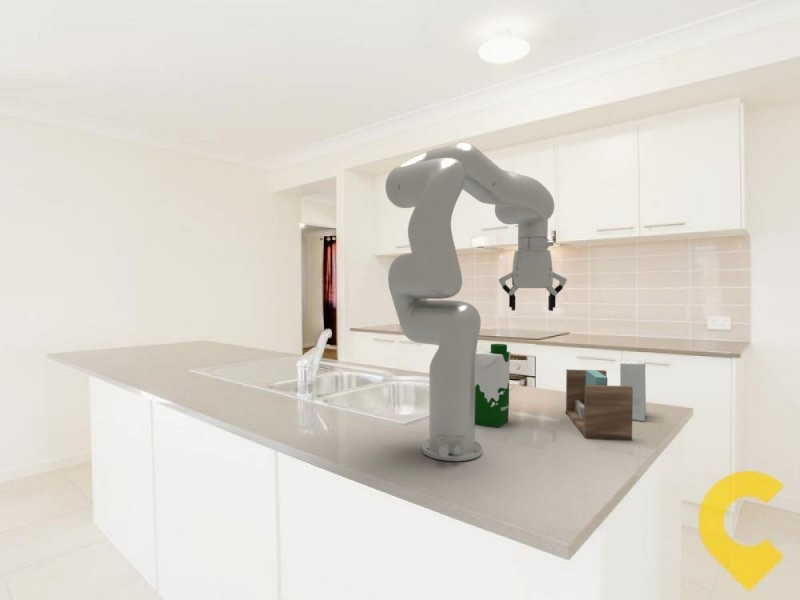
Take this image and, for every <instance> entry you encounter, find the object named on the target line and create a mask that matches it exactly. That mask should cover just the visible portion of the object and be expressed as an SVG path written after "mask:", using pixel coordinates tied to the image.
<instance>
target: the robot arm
mask: <svg viewBox="0 0 800 600" xmlns="http://www.w3.org/2000/svg"><path fill="white" fill-rule="evenodd" d="M462 191H465V192H466V193H467V194H469V195H470V196H471V197H473V198H474V199H475V200H476V201H478V202H480V203H483V204H487V205H493V206H494V205H495V206H494V213H495V216H496V219H498V220H499V222H501V223H502V224H504V225H517V250H515V251H514V254H513V260H512V270H511V272H510V273H508V274H506V275H504V276H501V277H500V278H499V279H498V282H499V285H501V288H502V289H503V290H504V292H506V293H507V295H508V307H509V308H511V311H516V295H515V293H516V292H517V291H518V289H545V290H547V292H548V293H549V295H548V303H547V305H548V306H547V308H548V311H550V312H553V311H554V308H556V299H557V297H556V296H557V295H558V294H559V293H560V292H561V291H562V290H563V288H564V287H565V285H566V283H567V281H568V279H567V278H566V277H563V276H562V275H560V274H558V273H556V272H554V271H553V260H552V255H551V250H549V247H554V241H553V240H549V238H548V236H549V234H548V233H549V232H548V229H549V223H548V222H549V221H548V220H549V219H550V218H551V217H552V215H553V214H554V212H555V211H554V210H555V201H554V198H553V195H552V193H551V192H550V191H549V190H548V188H547V187H546V186H545V185H543V184H542V183H541V182H540V180H539V181H538V180H537V179H535V178H533V177H530V176H527V175H524V174H520V173H516V172H514V171H509V170H504V169H501V168H500V167H499V166H498V165H497V164H495V163H494V162H493V161H492V160H491V159H490V158H489V157H488V156H487V155H485V154H484V153H483V152H482V151H481V150H480V149H478V148H477V147H476V146H475V145H473V144H471V143H468V142H459V143H454V144H448V145H445V146H441V147H436V148H433V149H430V150H429V149H428V150H427V151H425V152H423V153H421V154H418V155H417V156H415V157H413V158H411V159H409V160H407V161H406V162H404V163H402V164H400V165H397V166H396V167H395V168H393V169H392V170H390V172H389V173H388V176H387V178H386V181H385V193H386V197H387V198H388V200H389V202H390V203H392V204H393V205H394V206H395V207H397V208H400V209H401V208H402V209H409V208H414V209H413V211H412V214H411V215H410V218H409V222H408V227H407V237H408V242H409V246H410V250H411V253H410V252H408V253H404V254H401V255H399V256H397V257H395V258H394V259H393V261H392V262H391V264H390V266H389V269H388V276H387V279H388V280H387V281H388V288H389V292H390V295H391V300H392V302H393V305H394V308H395V311H396V316H397V318H398V322H399V325H400V328H401V330H402V332H403V334H404V335H405V337H406V338H407V339H408V340H409V341H411V342H414V343H418V344H423V345H424V344H425V345H435V346H438V348H437V350H436V352H435V354H434V355H433V357H432V358H431V362H430V365H429V373H428V374H429V376H428V377H429V387H428V388H429V395H428V396H429V408H428V409H429V411H428V412H429V413H428V414H429V415H428V416H429V417H428V419H429V420H428V421H429V422H428V423H429V424H428V425H429V427H428V429H429V430H428V431H429V433H428V434H429V436H428V439H426V440H425V441H423V442H422V443H421V451H422V454H424V455H425V456H427V457H429V458H431V459H435V460H439V461H446V462H465V461H470V460H474V459H477V458H478V457H480V456H481V455H482V453H483V446H482V445H481V443H479V442H478V441H476V424H475V360H476V352H477V348H478V342H479V337H480V331H481V327H482V326H481V324H482V323H481V321H482V320H481V316H480V312H479V310H477V308H476V307H475V306H473V304H471V303H469V302H466V301H463V300H462V301H461V300H447V299H449V298H452V297H455V296H456V295H458V294H459V293H460V291H461V289H462V286H463V277H462V270H461V265H460V262H459V258H458V254H457V249H456V246H455V241H454V237H453V233H452V216H453V213H454V209H455V207H456V204H457V202H458V200H459V197H460V195H461V193H462ZM508 280H511V284H512V287H509V286H508V285H507V283H506V281H508ZM554 280H556V281H558V282H559V283H558V285H557V286H556V287H555V288H554V287H553V284H554V283H553V282H554ZM445 299H446V300H445Z"/></svg>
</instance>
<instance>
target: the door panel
mask: <svg viewBox="0 0 800 600" xmlns="http://www.w3.org/2000/svg"><path fill="white" fill-rule="evenodd" d="M585 370H586V385H605V386H608V376H607V375H606V376H604V375H603V374H601V373H600V372H598V371H597V370H598V369H595V370H594V369H585Z"/></svg>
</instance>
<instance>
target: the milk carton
mask: <svg viewBox="0 0 800 600" xmlns="http://www.w3.org/2000/svg"><path fill="white" fill-rule="evenodd" d="M510 363H511V351H508V345H507V344H504V343H491V344H490V350H489V349H481V350H480V349H479V350H476V360H475V425H480V426H486V427H487V426H488V427H490V428H491V427H493V428H498V429H499V428H501V427H502V426H503V425H505V424H506V423H507V422H508V421H509V411H510V410H509V409H510Z"/></svg>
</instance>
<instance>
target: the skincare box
mask: <svg viewBox="0 0 800 600" xmlns="http://www.w3.org/2000/svg"><path fill="white" fill-rule="evenodd" d="M619 365H620V368H619V369H620V379H619V380H620V385H619V386H631V387H633V408H632V421H637V422H645V421H646V418H645V417H646V416H647V415H646V414H647V406H646V404H647V399H646V398H647V397H646V396H647V395H646V391H647V389H646V385H647V384H646V360H634V359H633V360H632V359H631V360H630V359H623V360H621V361H620V364H619Z"/></svg>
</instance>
